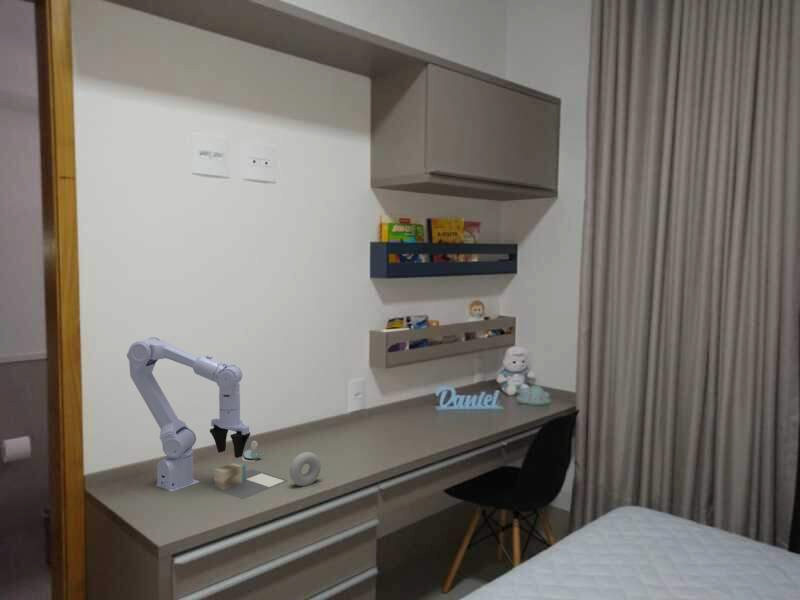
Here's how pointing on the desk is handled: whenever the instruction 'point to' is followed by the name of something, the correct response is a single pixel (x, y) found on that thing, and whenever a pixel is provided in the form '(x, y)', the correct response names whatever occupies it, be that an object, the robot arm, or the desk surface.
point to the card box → (229, 475)
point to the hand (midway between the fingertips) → (230, 454)
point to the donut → (312, 472)
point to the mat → (252, 484)
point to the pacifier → (253, 450)
